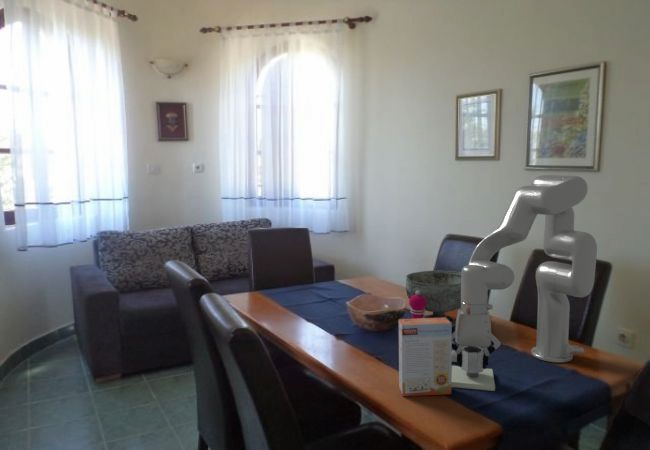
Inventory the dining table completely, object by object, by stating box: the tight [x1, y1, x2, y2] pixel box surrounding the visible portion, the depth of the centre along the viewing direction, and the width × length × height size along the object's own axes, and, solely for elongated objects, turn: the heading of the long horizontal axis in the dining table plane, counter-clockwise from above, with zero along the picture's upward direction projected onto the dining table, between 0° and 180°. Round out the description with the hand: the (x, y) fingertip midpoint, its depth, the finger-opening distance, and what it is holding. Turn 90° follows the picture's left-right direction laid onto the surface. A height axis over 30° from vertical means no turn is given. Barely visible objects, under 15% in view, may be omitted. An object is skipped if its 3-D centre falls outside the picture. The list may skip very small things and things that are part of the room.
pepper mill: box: [408, 291, 426, 319], centre depth 177 cm, size 7×7×20 cm
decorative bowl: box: [405, 269, 461, 328], centre depth 200 cm, size 26×26×20 cm
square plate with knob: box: [451, 365, 496, 392], centre depth 149 cm, size 12×12×6 cm
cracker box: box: [398, 317, 453, 397], centre depth 142 cm, size 14×6×21 cm, turn 92°
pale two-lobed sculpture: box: [452, 349, 462, 364], centre depth 165 cm, size 4×8×5 cm
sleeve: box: [461, 346, 484, 373], centre depth 149 cm, size 6×6×6 cm
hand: (472, 365), depth 149 cm, fingers closed on sleeve, 6 cm apart
